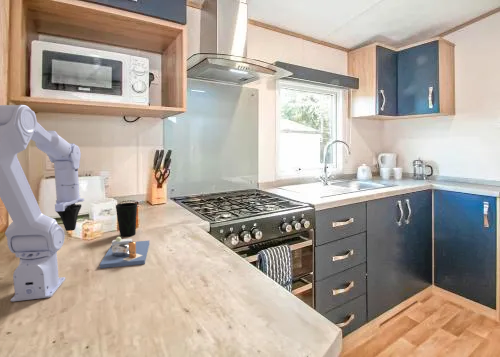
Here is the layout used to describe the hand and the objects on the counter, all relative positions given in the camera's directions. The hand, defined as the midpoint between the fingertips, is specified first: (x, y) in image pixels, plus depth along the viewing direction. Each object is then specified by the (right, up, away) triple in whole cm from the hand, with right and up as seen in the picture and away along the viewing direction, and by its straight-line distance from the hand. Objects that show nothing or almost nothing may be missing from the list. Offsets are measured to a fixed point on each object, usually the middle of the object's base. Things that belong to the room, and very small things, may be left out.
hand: (70, 229), depth 84 cm
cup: (+5, -7, +27) cm, 29 cm away
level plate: (+14, -9, +7) cm, 18 cm away
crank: (+15, -8, +3) cm, 17 cm away
